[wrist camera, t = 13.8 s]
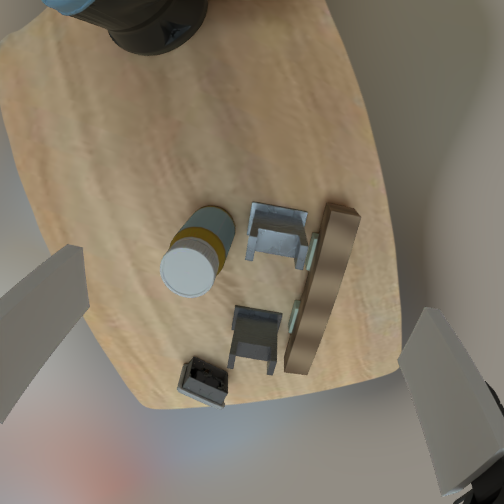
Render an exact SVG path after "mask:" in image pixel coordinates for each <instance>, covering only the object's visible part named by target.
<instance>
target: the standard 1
mask: <svg viewBox="0 0 504 504" xmlns="http://www.w3.org/2000/svg"><path fill="white" fill-rule="evenodd" d="M281 318H282V313H278V312H272V311H266V310H260V309H254V308H249V307H243V306H238V305H235V311H234V317H233V323H232V329H231V330H234V334H233V339H232V344H231V349H230V354H229V360H228V366H227V368H230V369H233V368H234V362H235V357H236V356H240V357H246V358H252V359H258V360H264V361H267V375H273V373H274V369H275V366H276V363H277V333H278V330H279V326H280V322H281Z"/></svg>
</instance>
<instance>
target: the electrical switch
mask: <svg viewBox="0 0 504 504" xmlns="http://www.w3.org/2000/svg"><path fill="white" fill-rule="evenodd" d="M198 361H200V362H198ZM194 363H195V364H194ZM194 367H195V368H194ZM203 368H204V369H203ZM202 369H203V370H202ZM206 369H209V373H206V372H205V370H206ZM212 370H213V371H212ZM211 371H212V372H211ZM177 390H178V392H180V393H182V394H184V395H186V396H188V397H191V398H193V399H195V400H197V401H200V402H202V403H204V404H207V405H209V406H211V407H214V408H216V409H219V410H222V409H223V408H224V407H225V403H224V399H225V397H226V396H227V394H228V373H227V372H226V371H224V370H221V369H219V368H217V367H215V366H213V365H211V364H208V363H206V362H204V361H202V360H200V359H198V358H196V357H193V358H192V360H191V361H190V363H189V364H184V365H183V367H182V371H181V375H180V379H179V383H178V387H177Z"/></svg>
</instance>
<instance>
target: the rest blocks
mask: <svg viewBox="0 0 504 504" xmlns="http://www.w3.org/2000/svg"><path fill="white" fill-rule="evenodd" d="M318 236H319V234H317V233H312V237H311V241H310V245H309V249H308V253H307V257H306V261H305V265H306V270H310V266H311V263H312V259H313V255H314V251H315V248H316V244H317V240H318ZM300 302H301V301H298V300H295V302H294V306H293V309H292V313H291V316H290V320H289V323H288V328H289V333H292V330H293V326H294V323H295V320H296V316H297V313H298V309H299V306H300Z"/></svg>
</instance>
